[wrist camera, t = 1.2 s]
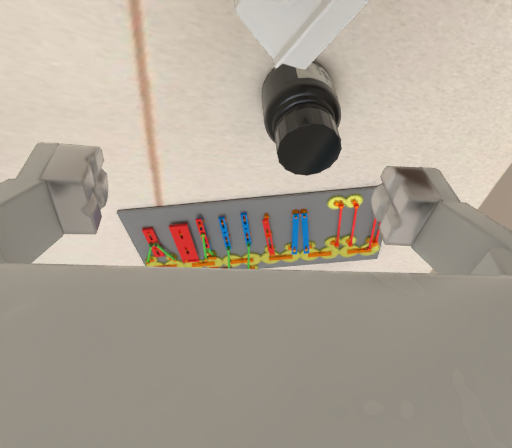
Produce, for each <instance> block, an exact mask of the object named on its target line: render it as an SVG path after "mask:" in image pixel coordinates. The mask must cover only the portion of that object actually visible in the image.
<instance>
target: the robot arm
mask: <svg viewBox="0 0 512 448" xmlns="http://www.w3.org/2000/svg"><path fill="white" fill-rule="evenodd" d="M103 162H104V158H103V153H102V150H101V148H100V147H96V146H84V145H72V144H59V143H45V142H41V143H38V144H37V145H36V146H35V148H34V149H33V151H32V153H31V154H30V156H29V158H28V159H27V161H26V163H25V164H24V166H23V167H22V169H21V171H20V172H19V174H18V176H17V177H16V179H8V180H6V181H4V182H2V183H0V448H512V231H511V230H509V229H508V228H506V227H504V226H503V225H501V224H499V223H498V222H496V221H495V220H493V219H491V218H490V217H488V216H487V215H485V214H483V213H482V212H480V211H478V210H477V209H475V208H474V207H472V206H470V205H469V204H467V203H463V202H460V200H459V199H458V197H457V196H456V194H455V193H454V191H453V190H452V188H451V187H450V185H449V184H448V182H447V181H446V179H445V178H444V176H443V175H442V173H441V172H440V170H438V169H437V168H429V167H419V168H418V167H398V166H387V167H386V168H385V169H384V170H383V172H382V174H381V176H380V177H381V180H382V184H380V185H379V186H378V187H376V188H375V190H374V193H373V195H372V199H371V211H372V214H373V217H374V218H375V219H376V220H377V221H378V222H380V223H381V224H380V226H379V228H378V229H379V232H380V234H381V236H382V239H383V241H384V244H385V245H401V246H412V247H411V248H412V249H413V250H414V251H415V252H416V253H418V254H419V255H420V256H421V257H422V258H423V259H424V260H425V261H426V262H427V263H428V264H429V265H430V266H431V267H432V268H433V269H434V270H435V271H436V272H437V273H438V274H427V273H389V272H350V271H311V270H269V269H226V268H187V267H147V266H108V265H68V264H31V263H32V262H33V261H34V260H35V259H37V258H38V257H39V256H40V255H41V254H42V253H44V252H45V251H46V250H47V249H48V248H49V247H50V246H52V245H53V244H54V243H55V242H56V241H57V240H59V239H60V238H61V237H62V236H63V234H96V233H97V230H98V227H99V224H100V221H101V217H102V216H101V212H100V209H101V208H103V207H104V206H105V205H106V201H107V196H108V179H107V173H106V172H105V171H104V170H103V169H101V167H102V165H103Z"/></svg>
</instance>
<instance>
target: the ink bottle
mask: <svg viewBox="0 0 512 448" xmlns="http://www.w3.org/2000/svg"><path fill="white" fill-rule="evenodd" d="M262 104H263V115H264V124H265V128H266V131H267V133H268V135H269V137H270V138H271V140H272V141H273V142H274V143H275V144H276V150H277V154H278V159H279V163H281V165H282V166H283V167H284V168H285V169H286V170H288V171H290V172H292V173H294V174H300V175H311V174H316V173H320V172H321V171H323V170H325V169H327V168H329V167H331V165H332V164H333V163H334V162H335V161H336V160H337V159H338V156H339V154H340V151H341V149H342V148H341V139H340V135H339V132H338V127H339V124H340V120H341V108H340V104H339V101H338V98H337V95H336V92H335V89H334V86H333V83H332V80H331V78H330V76H329V74H328V72H327V71H326V70H325V69H324V68H323V67H322V66H321V65H320V64H318V63H317V62H315V61H313V62H312V63H311V64H310V65H309V66H308V67H307V68H306V69H305V70H303V69H300V68H296V67H293V66H289V65H286V64H281V65H280V66H279V67H278V68H275V69H274V70H273V71H272V72H271V73H270V74H269V75H268V77H267V78H266V80H265V82H264V85H263V88H262Z"/></svg>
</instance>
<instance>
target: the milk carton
mask: <svg viewBox="0 0 512 448" xmlns="http://www.w3.org/2000/svg"><path fill="white" fill-rule="evenodd" d="M369 1H370V0H234V7H235V13H236V14H237V15H238V17H239V18H240V19H241V20H242V22H243V23H244V24H245V25H246V26H247V28H248V29H249V30H250V31H251V33H252V34H253V35H254V36H255V38H256V39H257V40H258V41H259V43H260V44H261V45H262V46H263V48H264V49H265V50H266V51H267V53H268V54H269V55H270V56H271V58H272V59H273V60H274V66H275V68H278V67H279V66H280V64H281V63H283V64H286V65H289V66H293V67H296V68H300V69H303V70H305V69H306V68H307V67H308V66H309V65H310V64H311V63H312V62H313V61H314V60H315V59H316V58H317V57H318V55H319V54H320V53H321V52H322V51H323V50H324V49H325V48H326V47H327V46H328V45H329V44H330V43H331V41H332V40H333V39H334V38H335V37H336V36H337V35H338V34H339V33H340V32H341V31H342V30H343V29H344V27H345V26H346V25H347V24H348V23H349V22H350V21H351V20H352V19H353V18H354V17H355V16H356V15H357V13H358V12H359V11H360V10H361V9H362V8H363V7H364V6H365V5H366V4H367V3H368V2H369Z"/></svg>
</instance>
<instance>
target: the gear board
mask: <svg viewBox="0 0 512 448" xmlns="http://www.w3.org/2000/svg"><path fill="white" fill-rule="evenodd" d="M375 188H376V187H367V188H356V189H346V190H335V191H324V192H313V193H302V194H292V195H281V196H270V197H259V198H248V199H238V200H227V201H216V202H205V203H194V204H184V205H173V206H162V207H151V208H140V209H130V210H119V211H117V214H118V216H119V218H120V220H121V221H122V223H123V225H124V227H125V229H126V231H127V233H128V234H129V236H130V238H131V240H132V242H133V244H134V246H135V247H136V249H137V251H138V253H139V255H140V257H141V258H142V260H143V262H144V264H145V266H147V267H187V268H226V269H262V268H274V267H286V266H297V265H309V264H321V263H333V262H345V261H357V260H369V259H377V258H378V254H379V250H380V246H381V242H382V236H381V234H380V232H379V229H378V228H379V226H380V224H381V223H380V222H378V221H377V220H376V219H375V218H374V217H373V214H372V211H371V199H372V195H373V193H374V190H375Z"/></svg>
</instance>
